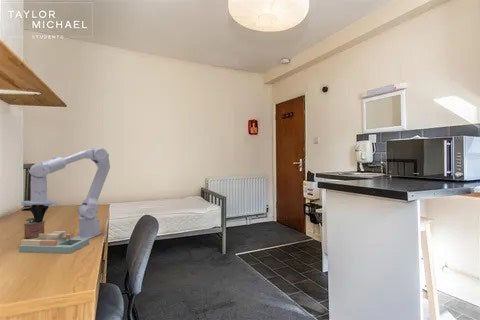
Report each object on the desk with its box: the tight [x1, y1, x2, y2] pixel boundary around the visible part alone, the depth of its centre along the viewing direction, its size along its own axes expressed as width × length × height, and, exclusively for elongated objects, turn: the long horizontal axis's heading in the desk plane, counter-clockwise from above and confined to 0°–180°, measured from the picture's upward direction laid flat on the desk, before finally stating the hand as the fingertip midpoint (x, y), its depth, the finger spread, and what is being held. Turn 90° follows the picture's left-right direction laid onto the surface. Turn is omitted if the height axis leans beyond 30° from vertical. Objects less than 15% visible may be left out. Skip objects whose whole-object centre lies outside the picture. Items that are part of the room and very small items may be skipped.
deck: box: [18, 232, 90, 254], centre depth 114 cm, size 12×22×4 cm, turn 86°
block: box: [45, 230, 67, 244], centre depth 114 cm, size 5×5×4 cm
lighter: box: [23, 217, 46, 240], centre depth 129 cm, size 8×3×10 cm, turn 141°
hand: (39, 222), depth 117 cm, fingers closed
